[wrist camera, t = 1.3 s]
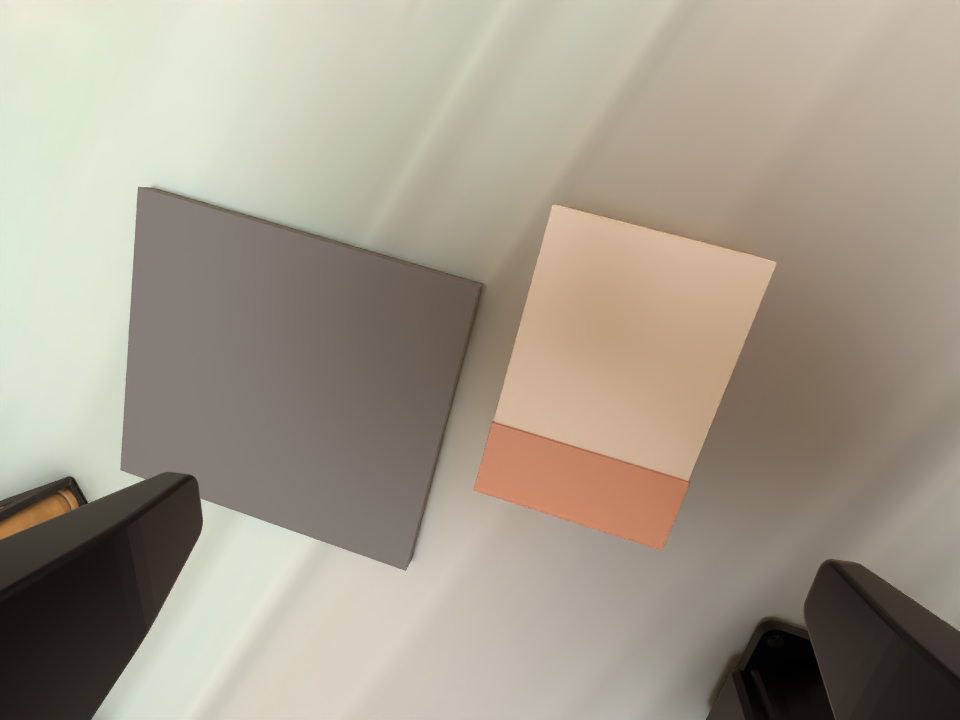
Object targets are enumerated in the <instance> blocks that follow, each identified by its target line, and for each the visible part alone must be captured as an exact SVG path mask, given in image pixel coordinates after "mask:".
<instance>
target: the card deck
mask: <svg viewBox="0 0 960 720" xmlns="http://www.w3.org/2000/svg"><path fill="white" fill-rule="evenodd" d="M776 264H777V262H775V261H771V260H768V259H765V258H762V257H758V256H755V255H751V254H747V253H743V252H740V251H736V250H732V249H728V248H724V247H720V246H716V245H712V244H708V243H705V242H701V241H697V240H693V239H689V238H685V237H681V236H677V235H673V234H669V233H666V232H662V231H658V230H654V229H650V228H646V227H642V226H638V225H634V224H630V223H627V222H623V221H619V220H615V219H611V218H607V217H603V216H599V215H595V214H592V213H588V212H584V211H580V210H576V209H572V208H568V207H564V206H560V205H552V208H551V212H550V216H549V219H548V223H547V227H546V230H545V234H544V238H543V241H542V245H541V249H540V252H539V256H538V260H537V263H536V267H535V271H534V274H533V278H532V282H531V285H530V289H529V293H528V296H527V300H526V304H525V307H524V311H523V315H522V318H521V322H520V326H519V329H518V333H517V337H516V340H515V344H514V348H513V351H512V355H511V359H510V362H509V366H508V370H507V373H506V377H505V381H504V384H503V388H502V392H501V395H500V399H499V403H498V406H497V410H496V414H495V417H494V421H493V422H492V425H491V429H490V432H489V436H488V440H487V443H486V447H485V451H484V454H483V458H482V462H481V465H480V469H479V473H478V476H477V480H476V484H475V487H474V491H477V492H481V493H484V494H487V495H490V496H493V497H496V498H499V499H502V500H505V501H509V502H512V503H515V504H518V505H521V506H524V507H527V508H530V509H534V510H537V511H540V512H543V513H546V514H549V515H552V516H555V517H559V518H562V519H565V520H568V521H571V522H574V523H577V524H580V525H584V526H587V527H590V528H593V529H596V530H599V531H602V532H605V533H609V534H612V535H615V536H618V537H621V538H624V539H627V540H630V541H634V542H637V543H640V544H643V545H646V546H649V547H652V548H655V549H659V550H663V547H664V545H665V542H666V540H667V538H668V535H669V533H670V530H671V528H672V525H673V523H674V520H675V518H676V515H677V513H678V511H679V508H680V506H681V503H682V501H683V498H684V496H685V493H686V491H687V488H688V486H689V484H690V483H689V478H690V476H691V473H692V471H693V468H694V466H695V463H696V461H697V458H698V456H699V453H700V451H701V449H702V446H703V444H704V441H705V439H706V436H707V434H708V431H709V429H710V426H711V424H712V421H713V419H714V417H715V414H716V412H717V409H718V407H719V404H720V402H721V399H722V397H723V394H724V392H725V389H726V387H727V385H728V382H729V380H730V377H731V375H732V372H733V370H734V367H735V365H736V362H737V360H738V357H739V355H740V353H741V350H742V348H743V345H744V343H745V340H746V338H747V335H748V333H749V330H750V328H751V325H752V323H753V321H754V318H755V316H756V313H757V311H758V308H759V306H760V303H761V301H762V298H763V296H764V293H765V291H766V288H767V286H768V284H769V281H770V279H771V276H772V274H773V271H774V269H775V266H776Z"/></svg>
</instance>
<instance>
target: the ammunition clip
mask: <svg viewBox="0 0 960 720" xmlns="http://www.w3.org/2000/svg"><path fill="white" fill-rule="evenodd" d="M83 505H85V502H84V500H83V499H82V497H81V495H80V493H79V492H78V490H77V488H76V486H75V485H74V483H73V481H72V479H71V478H70V477H66V478H63V479H61V480H58V481H55V482H52V483H49V484H47V485H44V486H41V487H38V488H35V489H33V490H30V491H27V492H24V493H21V494H19V495H16V496H13V497H10V498H7V499H5V500H2V501H0V539H3V538H5V537H8V536H10V535H13V534H15V533H17V532H20V531H22V530H25V529H27V528H30V527H32V526H34V525H37V524H39V523H42V522H44V521H47V520H49V519H51V518H54V517H56V516H59V515H61V514H64V513H66V512H68V511H71V510H73V509H76V508H78V507H81V506H83Z"/></svg>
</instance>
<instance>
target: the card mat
mask: <svg viewBox="0 0 960 720" xmlns="http://www.w3.org/2000/svg"><path fill="white" fill-rule="evenodd" d="M482 285H483V284H481V283H477V282H474V281H471V280H467V279H464V278H460V277H457V276H453V275H450V274H447V273H443V272H440V271H436V270H433V269H429V268H426V267H423V266H419V265H416V264H412V263H409V262H405V261H402V260H398V259H395V258H392V257H388V256H385V255H381V254H378V253H374V252H371V251H368V250H364V249H361V248H357V247H354V246H350V245H347V244H343V243H340V242H337V241H333V240H330V239H326V238H323V237H319V236H316V235H313V234H309V233H306V232H302V231H299V230H295V229H292V228H288V227H285V226H282V225H278V224H275V223H271V222H268V221H264V220H261V219H258V218H254V217H251V216H247V215H244V214H240V213H237V212H234V211H230V210H227V209H223V208H220V207H216V206H213V205H209V204H206V203H203V202H199V201H196V200H192V199H189V198H185V197H182V196H179V195H175V194H172V193H168V192H165V191H161V190H158V189H154V188H149V187H138V197H137V213H136V229H135V245H134V261H133V277H132V293H131V309H130V325H129V341H128V357H127V373H126V389H125V405H124V421H123V437H122V453H121V469H120V470H122V471H124V472H127V473H130V474H133V475H136V476H139V477H141V478H144V479H149V478H151V477H153V476H156V475H158V474H161V473H164V472H176V473H184V474H190V475H193V476H194V477H195V478H196V479H197V481H198V485H199V493H200V498H201V499H204V500H207V501H210V502H212V503H215V504H218V505H221V506H224V507H227V508H229V509H232V510H235V511H238V512H241V513H244V514H247V515H249V516H252V517H255V518H258V519H261V520H264V521H266V522H269V523H272V524H275V525H278V526H281V527H283V528H286V529H289V530H292V531H295V532H298V533H300V534H303V535H306V536H309V537H312V538H315V539H317V540H320V541H323V542H326V543H329V544H332V545H335V546H337V547H340V548H343V549H346V550H349V551H352V552H354V553H357V554H360V555H363V556H366V557H369V558H371V559H374V560H377V561H380V562H383V563H386V564H388V565H391V566H394V567H397V568H400V569H403V570H405V571H406V569H407V567H408V565H409V563H410V561H411V558H412V554H413V550H414V547H415V543H416V539H417V535H418V531H419V527H420V524H421V520H422V516H423V512H424V508H425V504H426V500H427V497H428V493H429V489H430V485H431V481H432V477H433V473H434V470H435V466H436V462H437V458H438V454H439V450H440V447H441V443H442V439H443V435H444V431H445V427H446V423H447V420H448V416H449V412H450V408H451V404H452V400H453V397H454V393H455V389H456V385H457V381H458V377H459V373H460V370H461V366H462V362H463V358H464V354H465V350H466V347H467V343H468V339H469V335H470V331H471V327H472V323H473V320H474V316H475V312H476V308H477V304H478V300H479V297H480V293H481V289H482Z"/></svg>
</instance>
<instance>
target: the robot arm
mask: <svg viewBox="0 0 960 720" xmlns="http://www.w3.org/2000/svg"><path fill="white" fill-rule="evenodd" d="M202 524H203V517H202V509H201V501H200V493H199V485H198V481H197V479H196V478H195V477H194V476H193V475H190V474H184V473H176V472H164V473H161V474H158V475H156V476H153V477H151V478H149V479H146V480H144V481H141V482H139V483H136V484H134V485H132V486H129V487H127V488H124V489H122V490H119V491H117V492H115V493H112V494H110V495H107V496H105V497H102V498H100V499H98V500H95V501H93V502H90V503H88V504H85V505H83V506H81V507H78V508H76V509H73V510H71V511H68V512H66V513H64V514H61V515H59V516H56V517H54V518H51V519H49V520H47V521H44V522H42V523H39V524H37V525H34V526H32V527H30V528H27V529H25V530H22V531H20V532H17V533H15V534H13V535H10V536H8V537H5V538H3V539H0V720H91V719H92V718H93V716H94V715H95V713H96V711H97V710H98V708H99V707H100V705H101V704H102V702H103V701H104V699H105V698H106V696H107V695H108V693H109V692H110V690H111V689H112V687H113V686H114V684H115V683H116V681H117V680H118V678H119V677H120V675H121V674H122V672H123V671H124V669H125V668H126V666H127V665H128V663H129V662H130V660H131V659H132V657H133V655H134V654H135V652H136V651H137V649H138V648H139V646H140V645H141V643H142V641H143V640H144V638H145V637H146V635H147V634H148V632H149V630H150V628H151V626H152V625H153V623H154V621H155V619H156V618H157V616H158V614H159V612H160V610H161V608H162V606H163V604H164V603H165V601H166V599H167V597H168V595H169V593H170V591H171V589H172V587H173V585H174V584H175V582H176V580H177V578H178V576H179V574H180V572H181V570H182V568H183V567H184V565H185V563H186V561H187V559H188V557H189V555H190V553H191V551H192V550H193V548H194V546H195V544H196V542H197V540H198V538H199V536H200V533H201V530H202ZM804 619H805V623H806V626H807V629H808V632H806V631H803V630H800V629H797V628H794V627H791V626H788V625H785V624H782V623H779V622H775V621H768V622H765V623H763V624H761V625H760V626H759V627H758V628H757V630H756V632H755V634H754V636H753V638H752V640H751V642H750V644H749V646H748V648H747V650H746V652H745V654H744V655H743V657H742V659H741V661H740V663H739V665H738V667H737V669H735V670H733V671H732V672H730V673H729V675H728V677H727V679H726V681H725V683H724V685H723V687H722V689H721V691H720V693H719V695H718V697H717V699H716V701H715V703H714V705H713V707H712V709H711V711H710V713H709V715H708V716H707V718H706V720H960V631H958V630H957V629H955V628H954V627H952V626H951V625H949V624H948V623H946V622H945V621H943V620H942V619H940V618H939V617H937V616H936V615H935V614H933V613H932V612H930V611H929V610H927V609H926V608H924V607H923V606H921V605H920V604H918V603H917V602H915V601H914V600H912V599H911V598H910V597H908V596H907V595H905V594H904V593H902V592H901V591H899V590H898V589H896V588H895V587H893V586H892V585H890V584H889V583H887V582H886V581H885V580H883V579H882V578H880V577H879V576H877V575H876V574H874V573H873V572H871V571H870V570H868V569H867V568H865V567H864V566H862V565H861V564H858V563H855V562H849V561H841V560H834V559H829V560H826V561H824V562H823V563H822V564H821V566H820V568H819V570H818V572H817V574H816V577H815V579H814V581H813V584H812V586H811V588H810V591H809V593H808V595H807V598H806V600H805V603H804ZM771 636H779V637H778V638H777V639H774V640H771V639H769V638H770V637H771Z"/></svg>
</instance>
